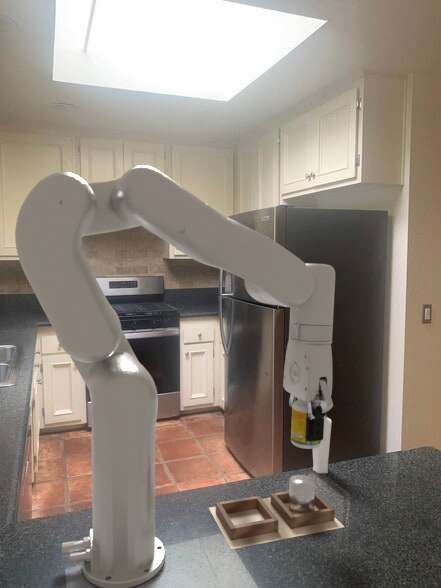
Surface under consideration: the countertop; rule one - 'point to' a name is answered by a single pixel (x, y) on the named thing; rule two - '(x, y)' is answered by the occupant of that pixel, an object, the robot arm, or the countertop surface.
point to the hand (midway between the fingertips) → (305, 432)
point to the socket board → (270, 519)
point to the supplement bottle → (301, 425)
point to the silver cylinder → (301, 494)
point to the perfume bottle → (322, 450)
